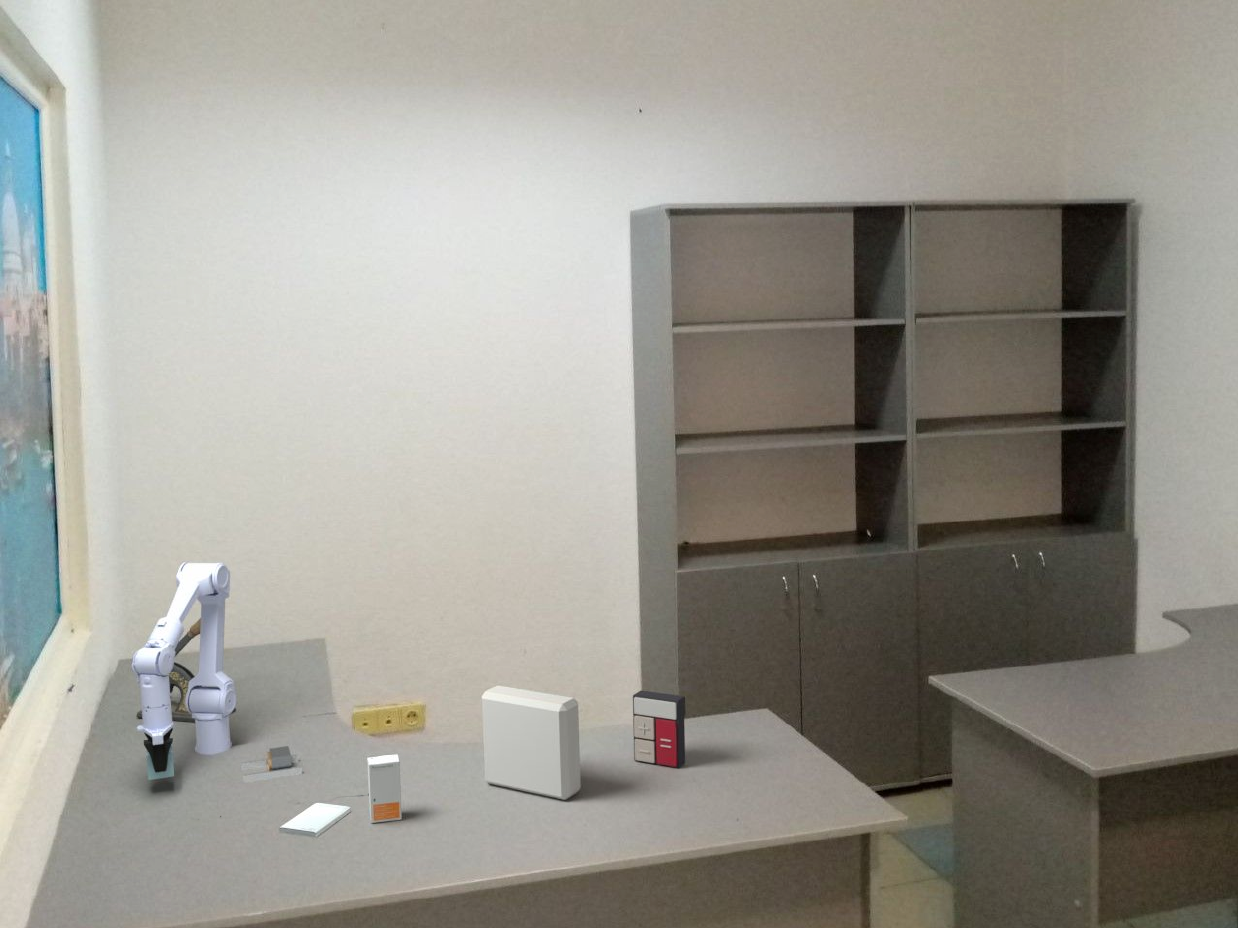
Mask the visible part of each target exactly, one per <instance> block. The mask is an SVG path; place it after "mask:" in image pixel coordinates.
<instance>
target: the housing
mask: <svg viewBox="0 0 1238 928" xmlns="http://www.w3.org/2000/svg"><path fill="white" fill-rule="evenodd" d="M174 765H175V764H174V752H173V745H171V747H170V749H169V753H168V762H167V769H166V771H164V772H157V773H156V772H155V770H154V767H153V763H152V760H151V757H150V754H149V752H148V750H147V749H146V768H147V769H146V770H147V780H148V781H152V780H158V779H164V778H165V779H166V778H172V777H175V766H174Z"/></svg>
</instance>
